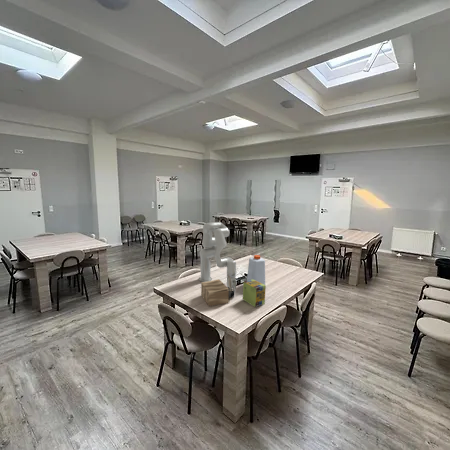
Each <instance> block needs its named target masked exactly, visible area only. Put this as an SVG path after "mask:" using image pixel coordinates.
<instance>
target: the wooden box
mask: <svg viewBox="0 0 450 450" xmlns="http://www.w3.org/2000/svg"><path fill="white" fill-rule="evenodd" d="M200 286H201V287H200V288H201V289H200V294H201V297H202V298H203V301H204V302H206V304H207V306H208V307H214V306H220V305H226V304H229V297H228V296H229V290H223V291H218V292H214V293H209V292H208V291H207V290H206V289H205V287H204V286H203V285H202V284H200Z"/></svg>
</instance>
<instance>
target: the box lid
mask: <svg viewBox="0 0 450 450" xmlns="http://www.w3.org/2000/svg"><path fill="white" fill-rule="evenodd" d="M201 284H202V285H203V286H204V287H205V289H206V290H207V291H208V292H209V293H214V292H218V291H223V290H228V289H229V288H228V287H227V284H225V283H224V282H222V280H221V279H212V280H211V281H208V282H201ZM201 284H200V285H201Z"/></svg>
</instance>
